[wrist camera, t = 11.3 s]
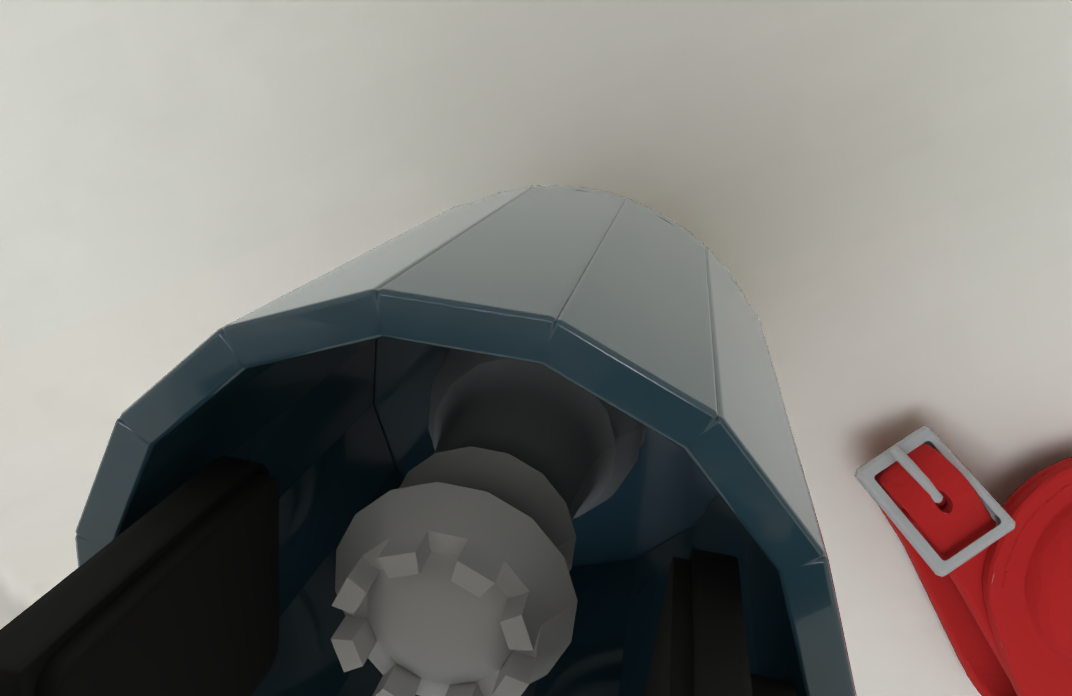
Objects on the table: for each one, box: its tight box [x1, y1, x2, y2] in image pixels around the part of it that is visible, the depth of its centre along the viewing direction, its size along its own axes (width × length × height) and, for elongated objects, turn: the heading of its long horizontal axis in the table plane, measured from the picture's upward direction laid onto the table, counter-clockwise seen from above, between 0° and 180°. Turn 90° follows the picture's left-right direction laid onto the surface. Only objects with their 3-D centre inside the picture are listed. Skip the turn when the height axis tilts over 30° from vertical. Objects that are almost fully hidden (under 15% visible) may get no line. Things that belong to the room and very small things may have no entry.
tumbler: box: [75, 185, 856, 696], centre depth 13 cm, size 9×9×9 cm
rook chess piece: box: [331, 349, 646, 696], centre depth 13 cm, size 4×4×8 cm
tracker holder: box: [855, 426, 1072, 696], centre depth 25 cm, size 12×4×10 cm
